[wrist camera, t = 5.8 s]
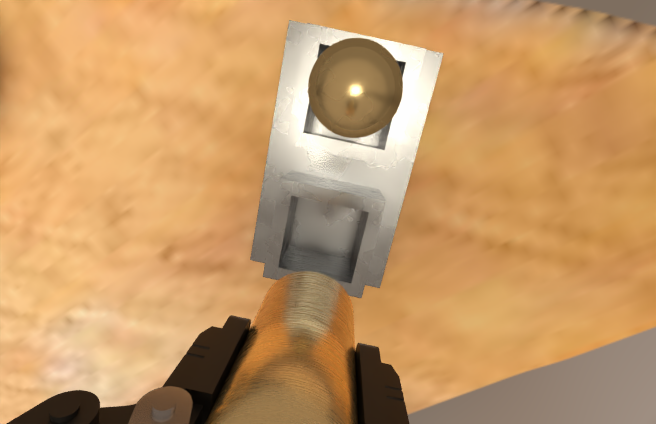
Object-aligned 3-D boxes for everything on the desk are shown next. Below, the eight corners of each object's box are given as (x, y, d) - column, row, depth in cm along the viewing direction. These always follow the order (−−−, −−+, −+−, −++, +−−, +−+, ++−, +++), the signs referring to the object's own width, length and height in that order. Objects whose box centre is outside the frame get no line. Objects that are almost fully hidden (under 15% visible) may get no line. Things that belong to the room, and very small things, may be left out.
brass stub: (373, 275, 14) (436, 593, 4) (349, 369, 15) (355, 784, 6) (263, 251, 14) (83, 519, 4) (246, 347, 15) (76, 726, 6)
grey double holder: (439, 56, 27) (503, 6, 16) (378, 282, 31) (395, 362, 21) (291, 25, 27) (254, -48, 16) (253, 255, 31) (205, 321, 21)
